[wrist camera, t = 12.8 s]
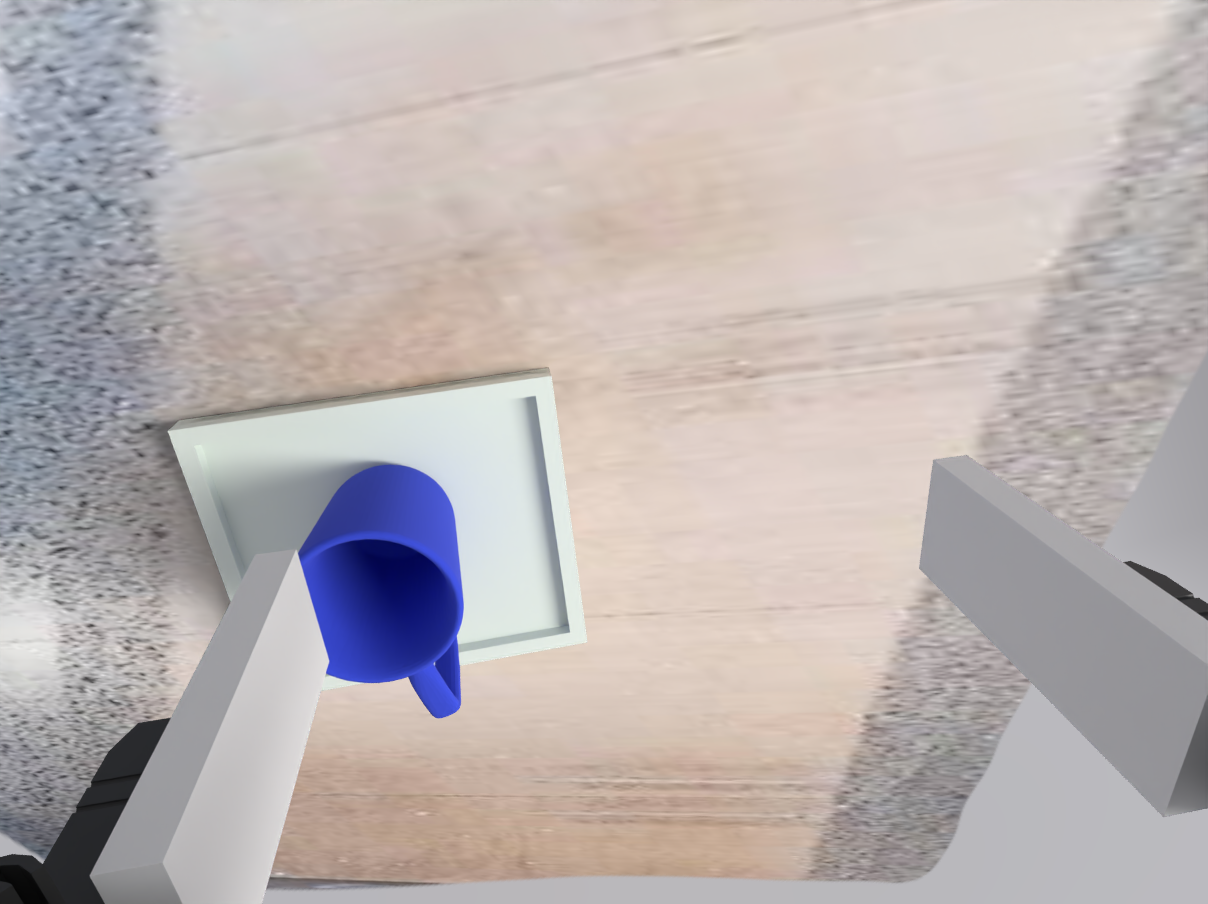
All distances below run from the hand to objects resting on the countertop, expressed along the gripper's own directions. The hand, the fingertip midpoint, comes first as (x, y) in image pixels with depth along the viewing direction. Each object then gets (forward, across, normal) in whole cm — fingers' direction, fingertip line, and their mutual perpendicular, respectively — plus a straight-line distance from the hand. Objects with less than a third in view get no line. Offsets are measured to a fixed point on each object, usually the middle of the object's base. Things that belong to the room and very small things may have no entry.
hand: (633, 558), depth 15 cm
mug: (+26, -9, -14) cm, 31 cm away
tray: (+27, -10, -14) cm, 32 cm away
